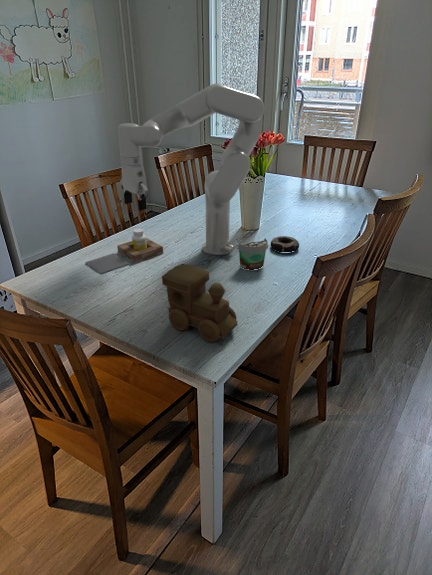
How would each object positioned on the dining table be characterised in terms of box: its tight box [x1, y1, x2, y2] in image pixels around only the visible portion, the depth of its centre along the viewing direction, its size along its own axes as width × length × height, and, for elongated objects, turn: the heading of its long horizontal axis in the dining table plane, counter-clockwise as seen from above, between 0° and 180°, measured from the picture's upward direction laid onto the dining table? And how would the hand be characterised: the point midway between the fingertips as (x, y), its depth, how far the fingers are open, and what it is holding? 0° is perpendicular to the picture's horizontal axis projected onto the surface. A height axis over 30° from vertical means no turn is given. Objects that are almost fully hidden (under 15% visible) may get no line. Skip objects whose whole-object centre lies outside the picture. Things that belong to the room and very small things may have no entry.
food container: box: [237, 238, 269, 270], centre depth 153 cm, size 12×6×10 cm, turn 117°
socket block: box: [116, 237, 164, 264], centre depth 166 cm, size 13×13×3 cm
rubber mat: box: [85, 253, 130, 275], centre depth 158 cm, size 12×12×1 cm
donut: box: [270, 235, 300, 253], centre depth 170 cm, size 12×12×4 cm
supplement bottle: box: [131, 227, 147, 251], centre depth 164 cm, size 5×5×10 cm
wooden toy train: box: [161, 263, 238, 343], centre depth 118 cm, size 20×11×17 cm, turn 57°
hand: (135, 206), depth 157 cm, fingers open, 9 cm apart
